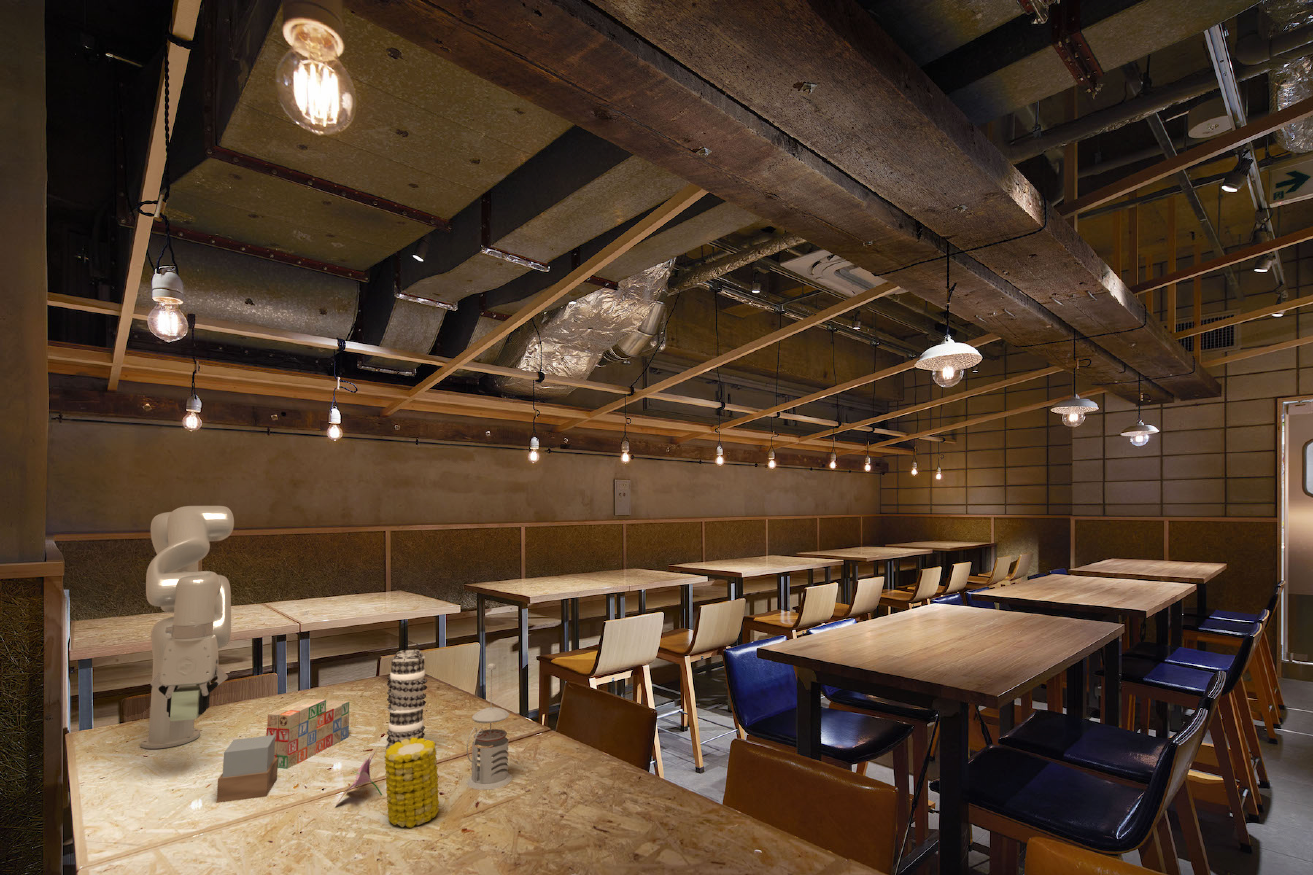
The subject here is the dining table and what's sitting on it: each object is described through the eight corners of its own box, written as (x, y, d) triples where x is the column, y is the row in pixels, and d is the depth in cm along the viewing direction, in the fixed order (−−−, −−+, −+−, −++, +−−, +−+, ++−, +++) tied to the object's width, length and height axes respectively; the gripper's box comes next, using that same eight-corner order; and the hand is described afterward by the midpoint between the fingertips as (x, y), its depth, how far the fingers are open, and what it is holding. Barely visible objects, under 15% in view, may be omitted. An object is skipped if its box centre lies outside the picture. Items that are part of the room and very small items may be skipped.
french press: (521, 775, 146) (523, 660, 149) (487, 796, 136) (489, 672, 138) (486, 768, 150) (488, 656, 153) (451, 788, 140) (453, 668, 142)
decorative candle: (375, 762, 154) (379, 654, 157) (404, 749, 162) (407, 646, 165) (405, 768, 151) (409, 657, 153) (433, 754, 159) (436, 649, 162)
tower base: (230, 786, 142) (231, 762, 143) (276, 780, 145) (278, 757, 146) (216, 804, 134) (217, 778, 134) (266, 797, 137) (267, 772, 137)
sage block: (178, 713, 148) (180, 686, 148) (204, 711, 149) (206, 684, 150) (169, 721, 143) (171, 693, 144) (196, 718, 145) (198, 691, 145)
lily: (371, 785, 144) (349, 749, 143) (412, 769, 141) (390, 732, 140) (336, 828, 133) (311, 789, 131) (380, 812, 130) (355, 772, 128)
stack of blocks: (328, 735, 173) (330, 687, 174) (349, 737, 172) (350, 689, 173) (264, 767, 152) (267, 712, 153) (287, 769, 151) (290, 714, 152)
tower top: (232, 763, 142) (233, 739, 143) (274, 758, 145) (275, 734, 146) (222, 777, 135) (223, 752, 135) (266, 771, 138) (267, 747, 138)
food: (447, 820, 128) (403, 846, 120) (410, 793, 135) (365, 815, 126) (458, 747, 128) (414, 767, 119) (420, 723, 134) (375, 740, 125)
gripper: (141, 636, 142) (134, 723, 140) (231, 632, 147) (225, 715, 145) (155, 629, 149) (149, 711, 147) (241, 625, 154) (236, 705, 153)
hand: (187, 712), depth 146 cm, fingers closed on sage block, 5 cm apart
